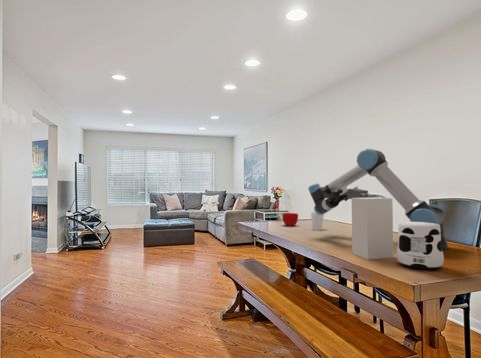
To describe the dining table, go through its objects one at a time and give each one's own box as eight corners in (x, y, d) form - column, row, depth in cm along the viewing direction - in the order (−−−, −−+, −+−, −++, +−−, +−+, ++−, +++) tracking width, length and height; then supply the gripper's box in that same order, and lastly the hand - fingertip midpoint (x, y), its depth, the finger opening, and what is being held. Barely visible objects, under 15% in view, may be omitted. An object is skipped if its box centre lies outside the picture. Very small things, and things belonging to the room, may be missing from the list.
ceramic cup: (302, 225, 264) (302, 213, 264) (294, 227, 250) (294, 215, 250) (288, 224, 271) (288, 212, 271) (279, 226, 257) (279, 214, 257)
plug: (335, 195, 175) (335, 186, 175) (343, 194, 178) (343, 186, 177) (361, 201, 158) (362, 191, 158) (370, 200, 161) (371, 191, 160)
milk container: (423, 260, 141) (423, 220, 141) (454, 271, 124) (453, 226, 124) (388, 262, 139) (387, 221, 139) (414, 273, 122) (413, 227, 122)
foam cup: (310, 230, 233) (310, 213, 234) (312, 228, 242) (312, 212, 242) (323, 231, 230) (322, 213, 230) (324, 229, 238) (324, 212, 239)
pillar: (352, 253, 156) (351, 197, 156) (376, 252, 159) (375, 197, 159) (367, 259, 144) (366, 199, 144) (393, 257, 147) (392, 198, 148)
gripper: (345, 208, 190) (368, 195, 169) (317, 208, 185) (338, 195, 164) (343, 196, 193) (365, 182, 172) (315, 196, 188) (335, 182, 167)
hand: (352, 188), depth 168 cm, fingers closed on plug, 6 cm apart
